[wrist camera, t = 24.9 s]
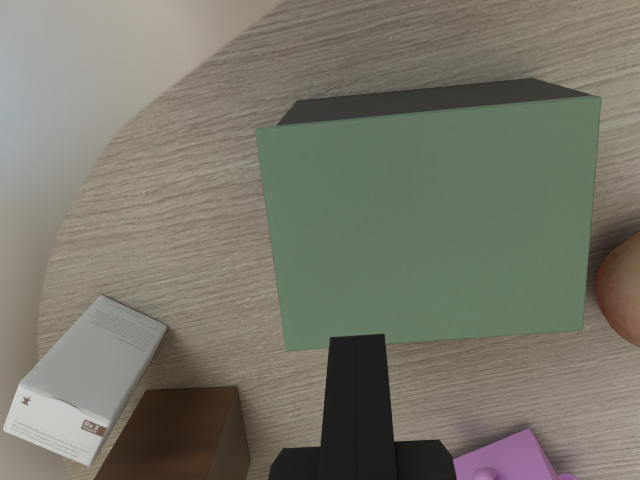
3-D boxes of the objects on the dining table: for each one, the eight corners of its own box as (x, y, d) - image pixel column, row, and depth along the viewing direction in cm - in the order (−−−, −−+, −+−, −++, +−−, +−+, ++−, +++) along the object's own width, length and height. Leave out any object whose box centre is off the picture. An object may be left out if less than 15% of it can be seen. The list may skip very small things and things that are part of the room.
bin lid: (287, 343, 32) (286, 351, 31) (257, 127, 27) (254, 130, 27) (576, 323, 31) (583, 330, 30) (594, 94, 26) (601, 96, 26)
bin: (315, 269, 41) (303, 337, 32) (296, 100, 37) (276, 123, 28) (526, 255, 40) (576, 322, 31) (533, 78, 35) (594, 94, 26)
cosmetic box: (85, 332, 45) (-7, 434, 34) (102, 289, 43) (12, 381, 32) (154, 364, 45) (87, 474, 34) (173, 323, 44) (110, 424, 33)
